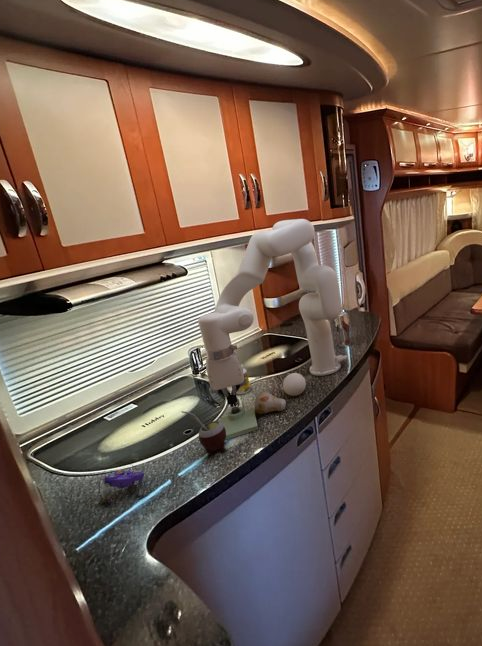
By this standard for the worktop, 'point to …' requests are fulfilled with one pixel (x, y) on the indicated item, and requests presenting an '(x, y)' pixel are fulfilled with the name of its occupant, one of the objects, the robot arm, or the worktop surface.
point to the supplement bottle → (246, 387)
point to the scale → (239, 422)
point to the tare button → (235, 410)
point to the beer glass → (343, 329)
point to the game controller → (122, 479)
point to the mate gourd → (211, 435)
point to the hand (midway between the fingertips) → (233, 404)
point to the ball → (294, 384)
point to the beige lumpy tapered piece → (268, 403)
